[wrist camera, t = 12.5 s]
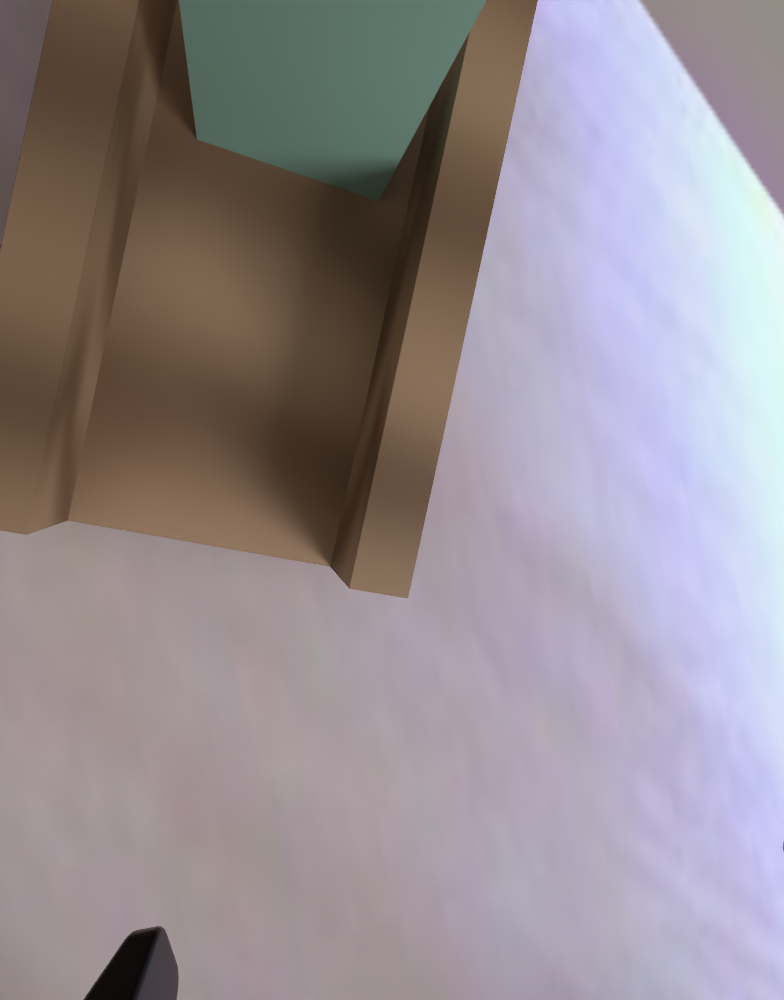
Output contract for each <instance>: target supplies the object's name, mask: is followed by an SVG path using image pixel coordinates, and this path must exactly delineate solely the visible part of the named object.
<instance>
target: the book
mask: <svg viewBox="0 0 784 1000" xmlns="http://www.w3.org/2000/svg"><path fill="white" fill-rule="evenodd" d="M485 2H486V0H179V5H180V13H181V20H182V28H183V36H184V44H185V51H186V59H187V67H188V75H189V82H190V90H191V98H192V105H193V113H194V121H195V129H196V136H197V140H200V141H203V142H206V143H209V144H212V145H215V146H218V147H221V148H224V149H227V150H230V151H233V152H235V153H238V154H241V155H244V156H247V157H250V158H253V159H256V160H259V161H262V162H265V163H268V164H271V165H274V166H277V167H280V168H283V169H285V170H288V171H291V172H294V173H297V174H300V175H303V176H306V177H309V178H312V179H315V180H318V181H321V182H324V183H327V184H330V185H332V186H335V187H338V188H341V189H344V190H347V191H350V192H353V193H356V194H359V195H362V196H365V197H368V198H371V199H374V200H377V201H379V199H380V197H381V195H382V193H383V192H384V190H385V188H386V186H387V184H388V182H389V180H390V179H391V177H392V175H393V173H394V171H395V169H396V167H397V166H398V164H399V162H400V160H401V158H402V156H403V154H404V153H405V151H406V149H407V147H408V145H409V143H410V141H411V140H412V138H413V136H414V134H415V132H416V130H417V128H418V127H419V125H420V123H421V121H422V119H423V117H424V115H425V114H426V112H427V110H428V108H429V106H430V104H431V102H432V101H433V99H434V97H435V95H436V93H437V91H438V89H439V88H440V86H441V84H442V82H443V80H444V78H445V76H446V75H447V73H448V71H449V69H450V67H451V65H452V63H453V62H454V60H455V58H456V56H457V54H458V52H459V50H460V49H461V47H462V45H463V43H464V41H465V39H466V37H467V36H468V34H469V32H470V30H471V28H472V26H473V24H474V23H475V21H476V19H477V17H478V15H479V13H480V11H481V10H482V8H483V6H484V4H485Z"/></svg>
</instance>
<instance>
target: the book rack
mask: <svg viewBox="0 0 784 1000" xmlns="http://www.w3.org/2000/svg"><path fill="white" fill-rule="evenodd" d="M537 1H538V0H486V2H485V4H484V6H483V8H482V10H481V11H480V13H479V15H478V17H477V19H476V21H475V23H474V24H473V26H472V28H471V30H470V32H469V34H468V36H467V37H466V39H465V41H464V43H463V45H462V47H461V49H460V50H459V52H458V54H457V56H456V58H455V60H454V62H453V63H452V65H451V67H450V69H449V71H448V73H447V75H446V76H445V78H444V80H443V82H442V84H441V86H440V88H439V89H438V91H437V93H436V95H435V97H434V99H433V101H432V102H431V104H430V106H429V108H428V110H427V112H426V114H425V115H424V117H423V119H422V121H421V123H420V125H419V127H418V128H417V130H416V132H415V134H414V136H413V138H412V140H411V141H410V143H409V145H408V147H407V149H406V151H405V153H404V154H403V156H402V158H401V160H400V162H399V164H398V166H397V167H396V169H395V171H394V173H393V175H392V177H391V179H390V180H389V182H388V184H387V186H386V188H385V190H384V192H383V193H382V195H381V197H380V199H379V201H377V200H374V199H371V198H368V197H365V196H362V195H359V194H356V193H353V192H350V191H347V190H344V189H341V188H338V187H335V186H332V185H330V184H327V183H324V182H321V181H318V180H315V179H312V178H309V177H306V176H303V175H300V174H297V173H294V172H291V171H288V170H285V169H283V168H280V167H277V166H274V165H271V164H268V163H265V162H262V161H259V160H256V159H253V158H250V157H247V156H244V155H241V154H238V153H235V152H233V151H230V150H227V149H224V148H221V147H218V146H215V145H212V144H209V143H206V142H203V141H200V140H197V136H196V129H195V121H194V113H193V105H192V98H191V90H190V82H189V75H188V67H187V59H186V51H185V44H184V36H183V28H182V20H181V13H180V5H179V0H53V1H52V6H51V10H50V15H49V20H48V25H47V30H46V34H45V39H44V44H43V49H42V53H41V58H40V63H39V68H38V73H37V77H36V82H35V87H34V92H33V97H32V101H31V106H30V111H29V116H28V120H27V125H26V130H25V135H24V140H23V144H22V149H21V154H20V159H19V164H18V168H17V173H16V178H15V183H14V188H13V192H12V197H11V202H10V207H9V211H8V216H7V221H6V226H5V231H4V235H3V240H2V245H1V250H0V530H2V531H8V532H14V533H20V534H26V535H27V534H30V533H33V532H35V531H38V530H41V529H44V528H47V527H50V526H53V525H56V524H59V523H61V522H64V521H67V520H69V521H74V522H80V523H86V524H91V525H97V526H103V527H108V528H114V529H120V530H126V531H131V532H137V533H143V534H148V535H154V536H160V537H165V538H171V539H177V540H182V541H188V542H194V543H199V544H205V545H211V546H217V547H222V548H228V549H234V550H239V551H245V552H251V553H256V554H262V555H268V556H273V557H279V558H285V559H290V560H296V561H302V562H307V563H313V564H319V565H325V566H330V567H331V568H332V569H333V570H334V571H335V572H336V574H337V575H338V576H339V577H340V578H341V579H342V581H343V582H344V583H345V584H346V585H347V586H348V587H349V589H355V590H361V591H367V592H373V593H379V594H385V595H391V596H397V597H403V598H408V595H409V590H410V585H411V581H412V576H413V572H414V567H415V562H416V558H417V553H418V549H419V544H420V539H421V535H422V530H423V526H424V521H425V516H426V512H427V507H428V502H429V498H430V493H431V489H432V484H433V479H434V475H435V470H436V466H437V461H438V456H439V452H440V447H441V443H442V438H443V433H444V429H445V424H446V420H447V415H448V410H449V406H450V401H451V397H452V392H453V387H454V383H455V378H456V374H457V369H458V364H459V360H460V355H461V351H462V346H463V341H464V337H465V332H466V327H467V323H468V318H469V314H470V309H471V304H472V300H473V295H474V291H475V286H476V281H477V277H478V272H479V268H480V263H481V258H482V254H483V249H484V245H485V240H486V235H487V231H488V226H489V222H490V217H491V212H492V208H493V203H494V199H495V194H496V189H497V185H498V180H499V176H500V171H501V166H502V162H503V157H504V153H505V148H506V143H507V139H508V134H509V129H510V125H511V120H512V116H513V111H514V106H515V102H516V97H517V93H518V88H519V83H520V79H521V74H522V70H523V65H524V60H525V56H526V51H527V47H528V42H529V37H530V33H531V28H532V24H533V19H534V14H535V10H536V5H537Z"/></svg>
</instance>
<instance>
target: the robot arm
mask: <svg viewBox="0 0 784 1000" xmlns="http://www.w3.org/2000/svg"><path fill="white" fill-rule="evenodd" d="M783 850H784V843H783ZM177 991H178V967H177V963H176V960H175V957H174V954H173V951H172V948H171V945H170V942H169V939H168V936H167V934H166V931H165V929H164V928H162V927H161V926H157V927H151V928H146V929H141V930H136V931H134V932H132V933H131V934H130V935H129V936H128V937H127V938H126V939H125V940H124V942H123V943H122V945H121V946H120V948H119V949H118V951H117V952H116V953H115V955H114V956H113V958H112V959H111V961H110V962H109V964H108V965H107V966H106V968H105V969H104V971H103V972H102V974H101V975H100V977H99V978H98V979H97V981H96V982H95V984H94V985H93V987H92V988H91V990H90V991H89V993H88V994H87V995H86V997H85V998H84V1000H177Z"/></svg>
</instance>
